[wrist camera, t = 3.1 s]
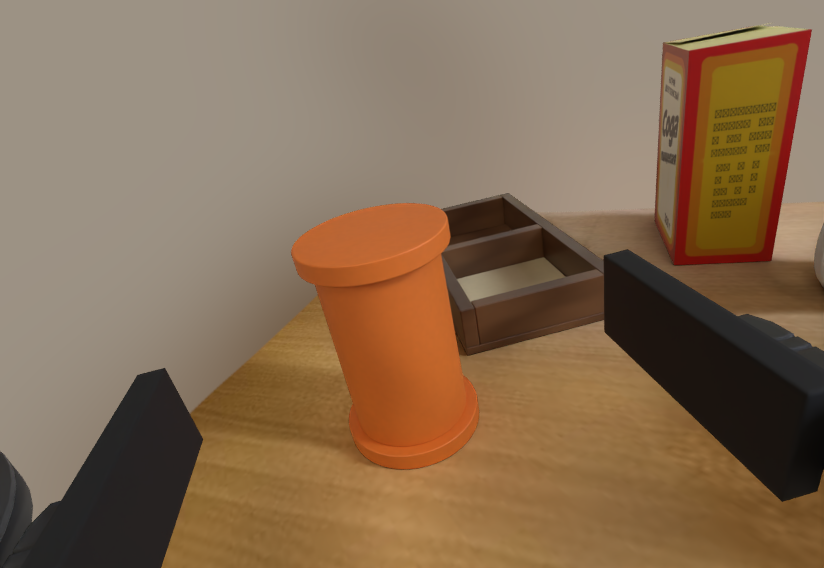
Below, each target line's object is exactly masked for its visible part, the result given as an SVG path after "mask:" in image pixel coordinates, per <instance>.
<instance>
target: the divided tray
mask: <svg viewBox="0 0 824 568" xmlns="http://www.w3.org/2000/svg"><path fill="white" fill-rule="evenodd" d="M441 210H442V211H444V212H445V214H446V215H447V218H448V224H449V230H450V242H449V244H448V246H447V248H446V249H445V250H444V251H443V252H442V253H441V256H442V262H443V268H444V273H445V279H446V285H447V290H448V296H449V301H450V307H451V313H452V318H453V324H454V329H455V331H456V333H457V335H458V337H459V339H460V341H461V343H462V345H463V347H464V349H465V351H466V353H467V355H471V354H475V353H479V352H483V351H486V350H490V349H494V348H498V347H502V346H505V345H509V344H513V343H517V342H521V341H524V340H528V339H532V338H536V337H540V336H544V335H547V334H551V333H555V332H559V331H563V330H566V329H570V328H574V327H578V326H582V325H585V324H589V323H593V322H597V321H601V320H604V261H603V260H602V259H600V258H599V257H597V256H596V255H595V254H593V253H592V252H590V251H589V250H588V249H586V248H585V247H583V246H582V245H581V244H579V243H578V242H576V241H575V240H574V239H572V238H571V237H569V236H568V235H567V234H565V233H564V232H562V231H561V230H560V229H558V228H557V227H555V226H554V225H553V224H551V223H550V222H548V221H547V220H546V219H544V218H543V217H541V216H540V215H539V214H537V213H536V212H534V211H533V210H531V209H530V208H529V207H527V206H526V205H524V204H523V203H522V202H520V201H519V200H517V199H516V198H515V197H513V196H512V195H510V194H509V193H506V194H502V195H498V196H494V197H490V198H485V199H481V200H477V201H473V202H468V203H464V204H460V205H456V206H452V207H448V208H443V209H441Z"/></svg>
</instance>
